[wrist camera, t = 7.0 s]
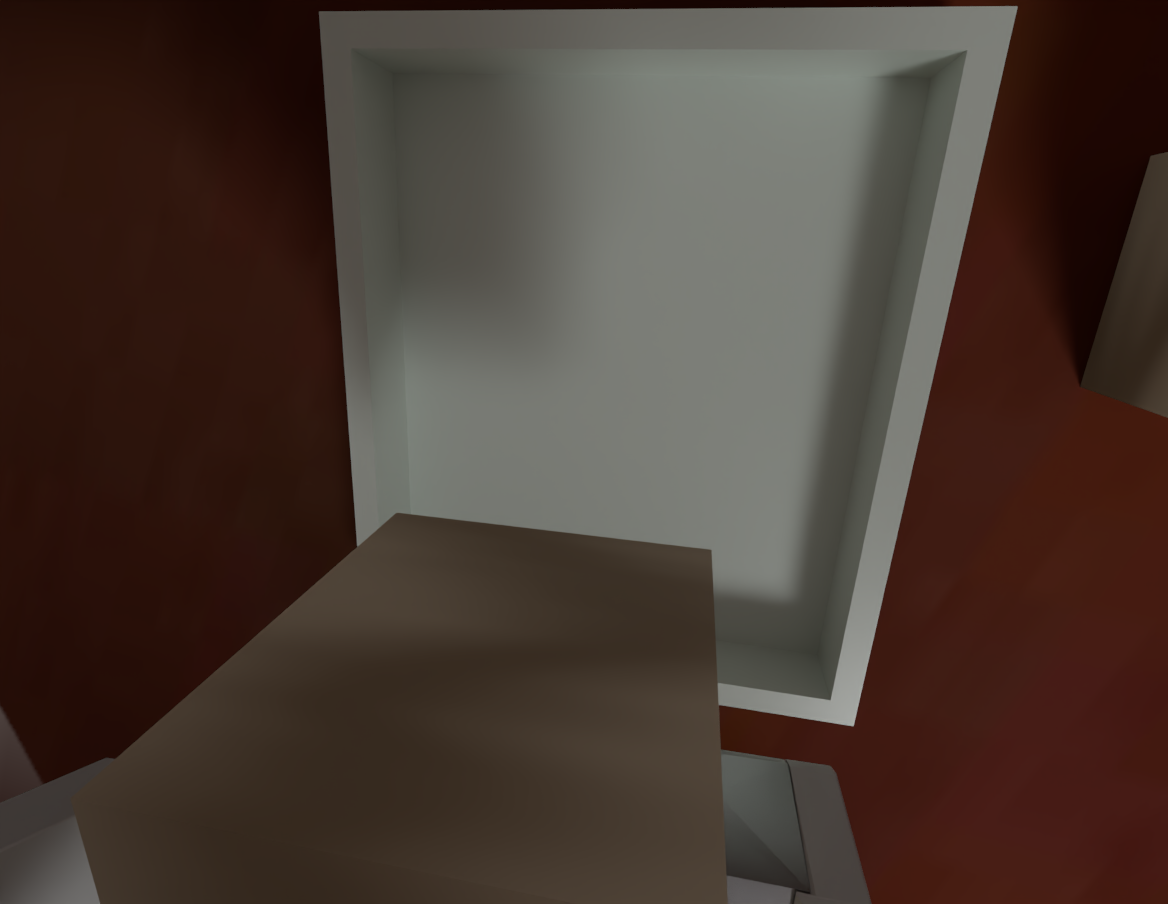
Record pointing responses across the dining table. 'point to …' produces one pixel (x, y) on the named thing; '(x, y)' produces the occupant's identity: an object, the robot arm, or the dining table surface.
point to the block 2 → (1137, 306)
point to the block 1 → (441, 736)
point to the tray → (662, 289)
